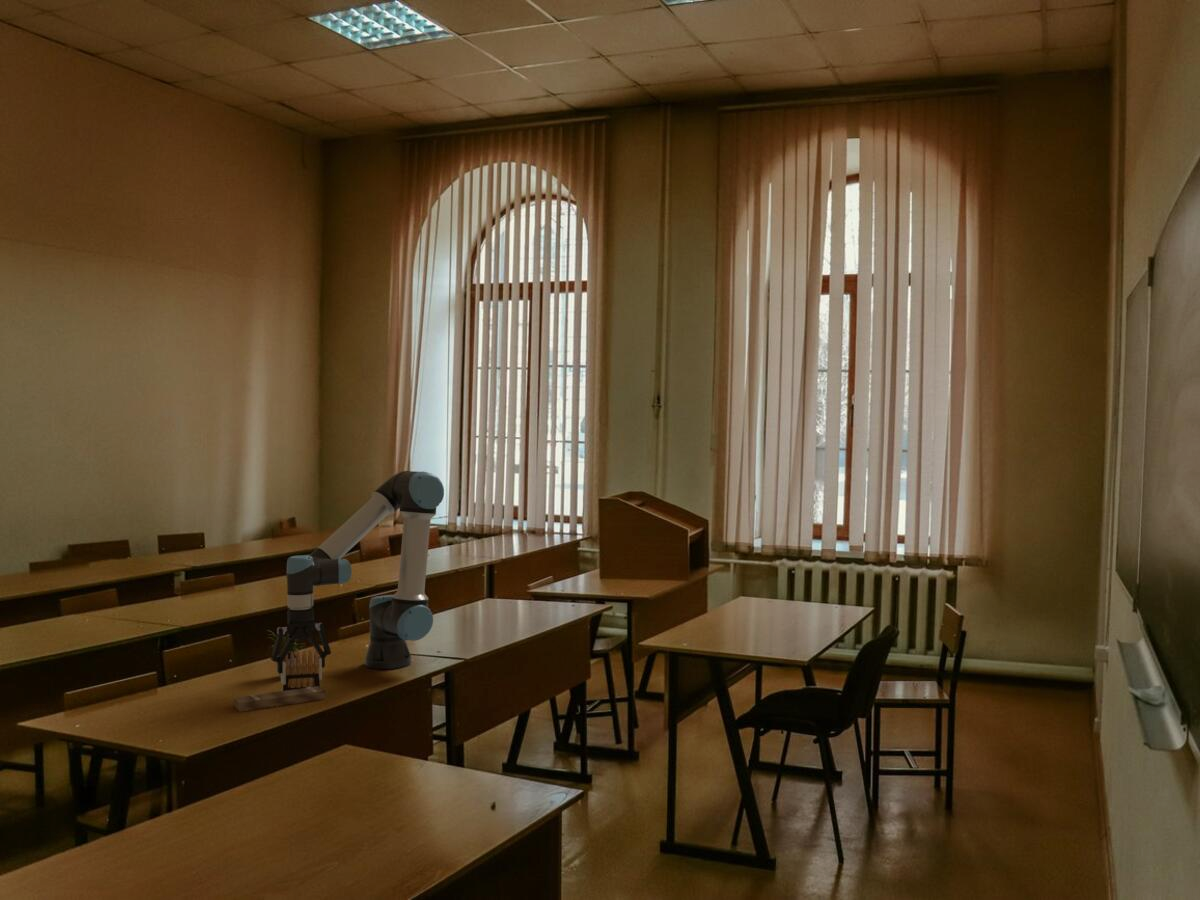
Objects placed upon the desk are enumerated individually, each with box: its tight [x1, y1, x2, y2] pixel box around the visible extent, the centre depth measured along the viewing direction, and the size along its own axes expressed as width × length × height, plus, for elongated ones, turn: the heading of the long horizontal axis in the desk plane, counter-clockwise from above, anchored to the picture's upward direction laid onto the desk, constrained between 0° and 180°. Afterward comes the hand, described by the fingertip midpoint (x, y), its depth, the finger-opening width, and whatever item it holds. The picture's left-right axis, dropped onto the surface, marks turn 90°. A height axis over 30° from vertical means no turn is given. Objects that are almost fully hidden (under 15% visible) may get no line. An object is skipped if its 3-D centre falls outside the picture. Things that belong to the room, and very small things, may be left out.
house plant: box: [265, 629, 306, 679], centre depth 325 cm, size 14×14×16 cm
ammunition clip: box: [282, 649, 321, 691], centre depth 308 cm, size 11×2×12 cm, turn 103°
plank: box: [233, 686, 326, 713], centre depth 295 cm, size 24×6×3 cm, turn 122°
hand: (301, 681), depth 308 cm, fingers closed on ammunition clip, 10 cm apart
